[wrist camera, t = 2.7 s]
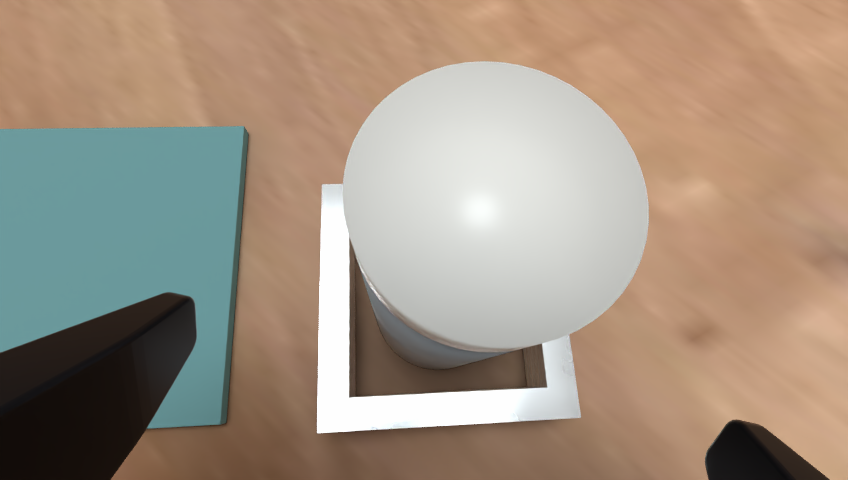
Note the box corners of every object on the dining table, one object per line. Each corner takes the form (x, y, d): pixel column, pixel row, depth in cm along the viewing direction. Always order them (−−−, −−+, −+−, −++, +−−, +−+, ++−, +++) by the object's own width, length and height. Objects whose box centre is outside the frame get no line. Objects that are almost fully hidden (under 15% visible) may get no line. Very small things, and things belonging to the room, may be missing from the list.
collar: (555, 413, 17) (581, 417, 15) (328, 426, 17) (316, 433, 14) (529, 204, 20) (546, 180, 17) (331, 209, 19) (321, 184, 17)
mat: (226, 423, 16) (219, 424, 16) (-67, 439, 16) (-85, 441, 15) (248, 133, 20) (244, 126, 20) (10, 136, 19) (-2, 129, 19)
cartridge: (504, 366, 18) (678, 339, 7) (376, 372, 17) (341, 355, 6) (492, 244, 19) (619, 61, 8) (374, 248, 19) (343, 61, 8)
